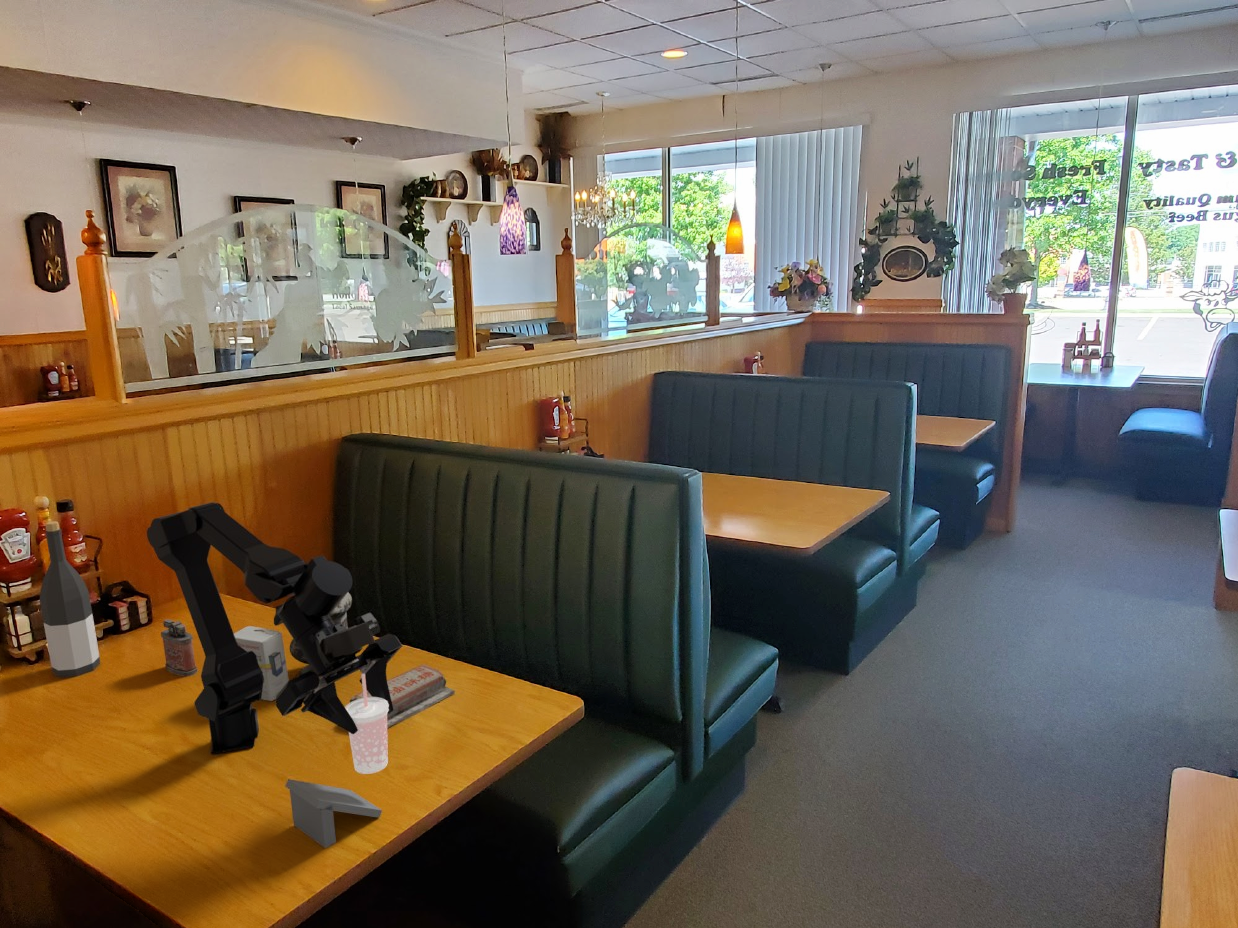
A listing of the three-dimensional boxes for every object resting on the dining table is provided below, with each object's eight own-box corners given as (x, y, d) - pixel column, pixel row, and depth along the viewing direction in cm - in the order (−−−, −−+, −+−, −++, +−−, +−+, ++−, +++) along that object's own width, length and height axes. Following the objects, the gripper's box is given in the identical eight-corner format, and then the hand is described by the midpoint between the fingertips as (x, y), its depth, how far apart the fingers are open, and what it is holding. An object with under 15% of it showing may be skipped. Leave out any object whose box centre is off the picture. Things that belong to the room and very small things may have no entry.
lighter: (201, 671, 168) (195, 622, 166) (185, 677, 165) (178, 629, 163) (178, 662, 172) (171, 615, 170) (161, 668, 170) (154, 620, 167)
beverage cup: (399, 766, 122) (392, 676, 119) (357, 782, 119) (348, 688, 116) (384, 748, 127) (376, 660, 124) (342, 762, 124) (334, 672, 121)
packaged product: (417, 657, 161) (453, 671, 156) (419, 681, 163) (455, 696, 157) (334, 695, 148) (371, 712, 142) (337, 721, 149) (373, 739, 143)
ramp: (350, 794, 126) (346, 750, 125) (382, 815, 121) (378, 769, 120) (289, 826, 119) (284, 780, 118) (321, 850, 114) (316, 802, 113)
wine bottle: (42, 676, 168) (15, 527, 161) (77, 658, 175) (52, 515, 169) (76, 679, 166) (50, 529, 159) (110, 661, 173) (86, 517, 167)
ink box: (291, 690, 159) (284, 630, 157) (270, 702, 155) (262, 641, 152) (255, 683, 163) (248, 624, 160) (233, 695, 158) (226, 635, 155)
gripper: (280, 625, 112) (344, 725, 109) (388, 581, 127) (448, 668, 124) (249, 667, 118) (309, 763, 115) (356, 620, 133) (412, 704, 130)
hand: (373, 721), depth 121 cm, fingers closed on beverage cup, 6 cm apart
